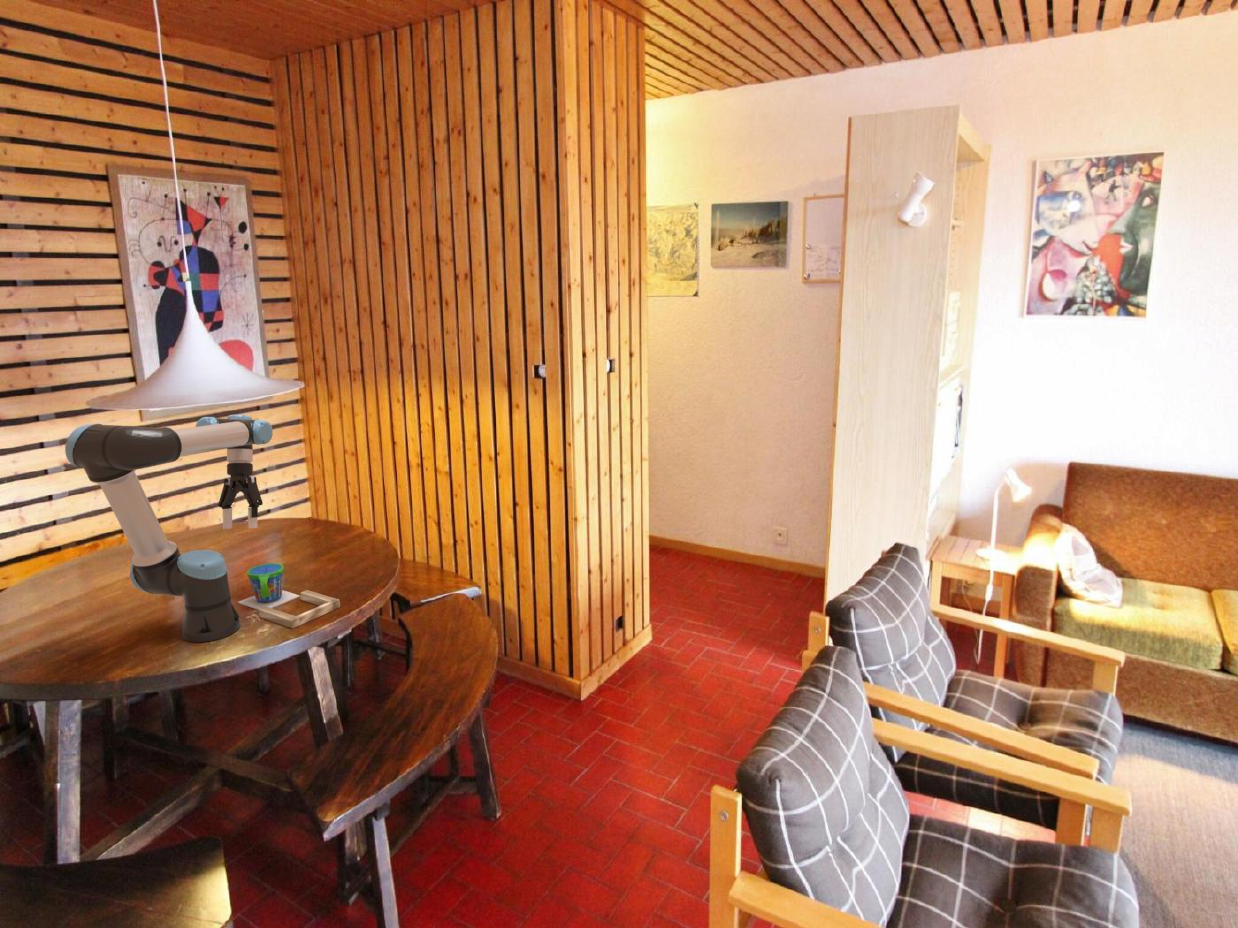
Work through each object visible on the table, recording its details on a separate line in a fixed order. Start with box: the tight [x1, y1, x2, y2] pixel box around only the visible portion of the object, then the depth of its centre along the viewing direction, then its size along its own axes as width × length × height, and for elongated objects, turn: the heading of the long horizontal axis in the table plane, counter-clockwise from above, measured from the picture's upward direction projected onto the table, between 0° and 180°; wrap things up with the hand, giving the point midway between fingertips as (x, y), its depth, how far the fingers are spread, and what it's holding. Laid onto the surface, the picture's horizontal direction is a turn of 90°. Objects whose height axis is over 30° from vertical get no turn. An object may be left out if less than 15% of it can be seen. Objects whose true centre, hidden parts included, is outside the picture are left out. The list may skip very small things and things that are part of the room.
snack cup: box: [246, 562, 285, 602], centre depth 239 cm, size 16×10×10 cm
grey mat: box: [237, 589, 301, 611], centre depth 240 cm, size 13×13×1 cm
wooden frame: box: [258, 589, 341, 629], centre depth 230 cm, size 17×16×2 cm
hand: (240, 528), depth 242 cm, fingers open, 13 cm apart
